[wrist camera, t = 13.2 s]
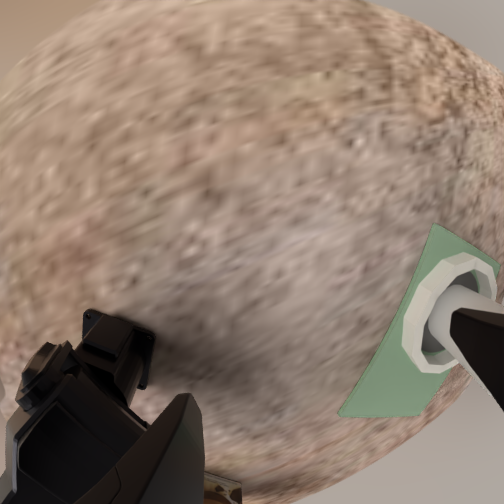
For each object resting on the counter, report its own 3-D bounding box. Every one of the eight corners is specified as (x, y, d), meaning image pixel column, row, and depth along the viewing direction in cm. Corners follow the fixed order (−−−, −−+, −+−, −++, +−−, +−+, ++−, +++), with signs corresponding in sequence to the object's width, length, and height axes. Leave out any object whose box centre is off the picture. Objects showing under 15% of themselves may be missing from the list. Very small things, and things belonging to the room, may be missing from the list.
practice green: (416, 412, 27) (425, 425, 24) (337, 413, 25) (344, 429, 23) (497, 263, 23) (512, 270, 20) (433, 223, 21) (452, 228, 18)
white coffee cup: (477, 286, 22) (544, 325, 12) (452, 343, 23) (507, 393, 14) (442, 273, 21) (521, 317, 11) (413, 338, 22) (476, 400, 13)
